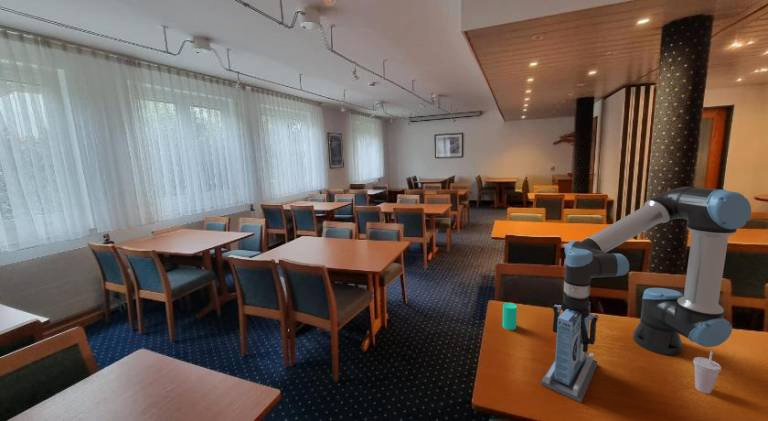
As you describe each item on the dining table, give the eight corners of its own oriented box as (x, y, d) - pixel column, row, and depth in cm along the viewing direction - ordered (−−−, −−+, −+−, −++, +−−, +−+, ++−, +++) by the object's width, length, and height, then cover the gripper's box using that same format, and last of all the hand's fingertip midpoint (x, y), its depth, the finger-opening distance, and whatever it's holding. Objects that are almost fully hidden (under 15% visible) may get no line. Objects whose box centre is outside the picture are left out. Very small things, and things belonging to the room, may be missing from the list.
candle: (517, 330, 141) (518, 305, 139) (503, 329, 142) (504, 305, 140) (514, 323, 147) (515, 299, 145) (501, 322, 148) (502, 299, 146)
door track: (597, 364, 117) (598, 355, 116) (581, 402, 100) (582, 391, 100) (561, 351, 125) (562, 342, 125) (541, 384, 108) (541, 374, 108)
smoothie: (720, 399, 99) (727, 359, 97) (692, 392, 103) (698, 353, 100) (713, 386, 105) (719, 348, 102) (687, 379, 108) (692, 343, 105)
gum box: (568, 386, 104) (573, 323, 100) (552, 378, 108) (556, 317, 104) (587, 359, 117) (592, 302, 113) (572, 353, 121) (576, 297, 116)
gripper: (544, 290, 111) (540, 350, 115) (606, 306, 98) (600, 372, 103) (550, 283, 116) (547, 340, 120) (610, 297, 104) (604, 360, 108)
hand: (571, 355), depth 111 cm, fingers closed on gum box, 5 cm apart
